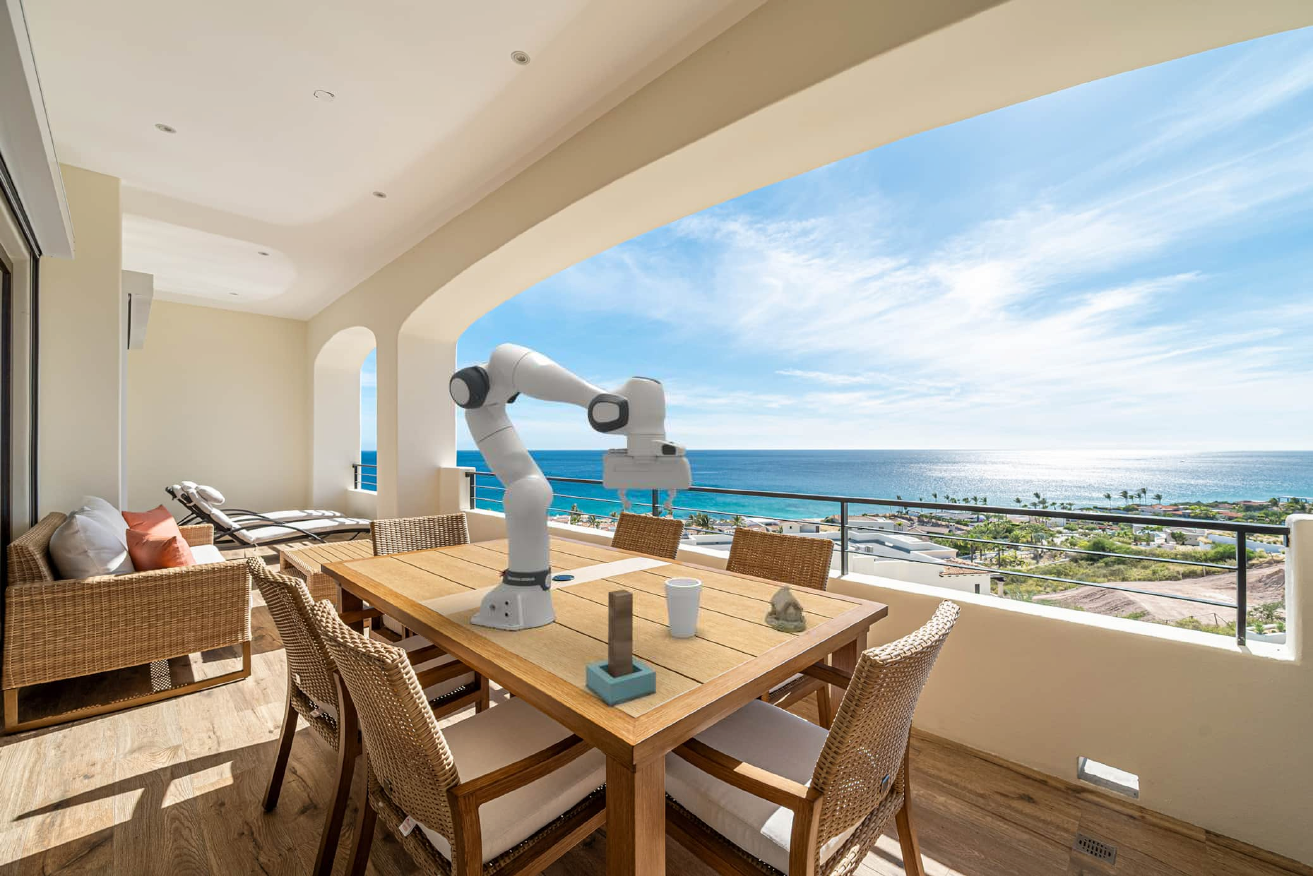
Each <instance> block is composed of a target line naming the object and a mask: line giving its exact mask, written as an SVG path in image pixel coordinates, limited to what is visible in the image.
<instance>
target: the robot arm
mask: <svg viewBox="0 0 1313 876" xmlns="http://www.w3.org/2000/svg"><path fill="white" fill-rule="evenodd" d="M449 379H450V380H449V385H448V386H449V387H448V388H449V394H450V396H451V398H452V400H453V401H454V404H456V405H457V406H459V408H462V409H465V411H464V418H465V421H466V424H467V427H468V429H469V432H470V435H471V436H472V439H473V441H474V442H475V445H476V447H477V448H478V450H479V452H480V454H481V455H482V457H483V459H484V461H485V462H486V465H487V466H488V469H489V470H490V471H491V473H493V475H494V476H496V478H497V480H499V482H501V484H502V486H504V488H505V491H504V494H503V497H502V506H503V509H504V519H505V526H506V532H507V539H508V540H507V541H508V542H507V543H508V544H507V545H508V553H507V554H508V566H507V568H506V569H504V570H502V571H501V572H499V576H498V578H501V577H502V580H501V582H500V583H499V584H498V585H496V586H495V587H494V588H493V589H491V590H490V591H489V592H488V593H486V594H485V595H484V597H483V598H482V600H481V603H480V607H479V611H478V612H476V613H475V614H474V615H473V616H471V618H470V624H473V625H476V626H477V625H478V626H482V625H484V627H489V628H493V627H495V628H494V629H499V630H504V629H506V631H509V630H516V631H519V629H520V630H524V629H530V627H531V628H537V627H541V626H544V625H548V624H551V623H552V622H553V621H555V619H556V614H555V611H554V607H553V602H552V595H551V594H552V593H551V587H552V567H551V566H550V564H551V563H550V554H551V553H550V551H551V547H550V545H551V542H550V541H551V540H550V539H551V537H550V536H549V535H550V534H549V527H548V526H549V525H548V519H547V518H548V515H547V513H548V512H547V510H548V509H549V508H550V506H551V505H552V503H553V501H554V492H553V487H552V486H551V484H550V483H549V481H548V479H547V478H546V476H545V475H544V473H543V472H542V470H541V468H540V467H539V466H538V464H537V462H536V461H535V460H534V459H533V457H532V456H531V454H530V453H529V451H528V450H527V448H526V446H525V444H524V443H523V440H522V439H521V437H520V435H519V434H518V432H517V430H516V429H515V427H514V425H513V423H512V421H511V420H510V418H509V417H508V414H507V412H506V405H507V404H510V405H511V404H513V403H515V401H516V400H517V398H518V397H519V396H520V395H521V394H523V395H524V396H527V397H529V398H533V399H536V400H541V401H545V402H556V403H565V404H570V405H571V404H572V405H575V406H578V407H581V408H584V409H586V410H587V419H588V423H589V425H590V426H591V428H592V429H594V431H596V432H598V433H601V434H603V435H613V436H616V435H617V436H619V435H620V436H626V448H625V447H624V448H608V450H606V451H604V453H603V455H602V465H603V470H602V471H603V472H602V486H603V487H604V489H606V490H617V495H618V497H619V498H620V500H621V502H622V509H623V510H631V509H632V501H631V500H628V499H627V497H626V495H625V494H627V490H667V492H668V493H667V494H668V496H669V497H668V499H667V501H663V502H662V503H663V508H662V509H663V511H671V510H672V502H673V500H674V499H675V497H676V496H677V490H681V491H682V490H685V491H686V490H689V489H690V488H691V487H692V483H693V481H692V470H691V465H690V461H689V459H688V458H687V457H685V455H686V453H687V448H686V447H685V446H684V445H681V444H678V443H675V442H673V441H668V440H667V439H666V437H667V435H666V434H667V433H666V430H665V419H666V398H665V390H664V387H663V384H662V383H661V382H660V381H659V380H657V379H654V378H649V377H645V376H632V377H630V378H628V379H627V380H626V381H625V382H624V383H622V384H621V385H620V386H617V387H616V388H614V389H611V390H608V391H607V390H605V389H603V388H600V387H598V386H596V385H594V384H592V383H590V382H588V381H585V380H584V379H582V378H581V377H579V376H577V375H576V374H574V373H573V372H571V371H569V370H567V369H566V368H565V367H563V366H562V365H560V364H558V363H557V362H556V361H554V360H553V359H550V358H549V357H548V356H546V355H544V354H542V353H540V352H538V351H536V350H533V349H530V348H529V347H525V346H522V345H519V344H514V343H509V342H507V343H502V344H499V345H498V346H497V347H495V349H494V350H493V351H492V352H491V354H490V357H489V361H485V362H481V363H479V364H475V365H473V366H468V367H464V368H462V369H460V370H458V371H456V372H454V374H452V376H451V377H450V378H449Z"/></svg>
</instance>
